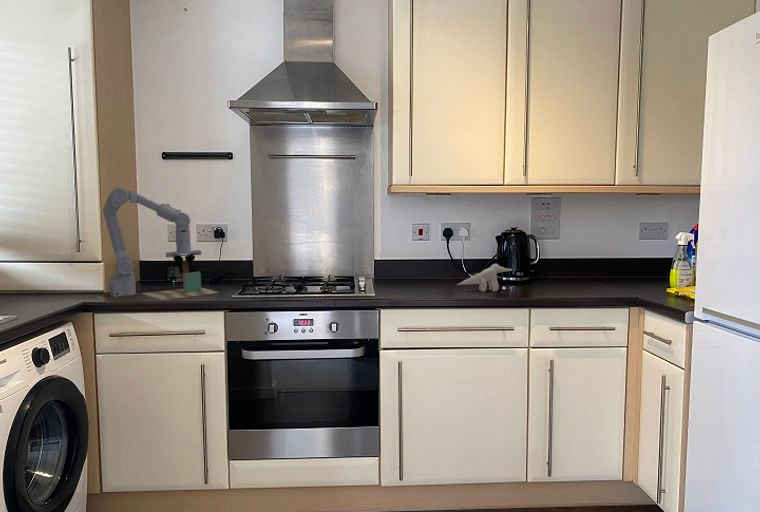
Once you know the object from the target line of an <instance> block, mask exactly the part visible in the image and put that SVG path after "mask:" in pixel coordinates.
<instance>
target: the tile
mask: <svg viewBox="0 0 760 512" xmlns="http://www.w3.org/2000/svg"><path fill="white" fill-rule="evenodd" d="M201 277H202V275H201V271H193V272H191V271H190V273H183V282H182V283H183V285H182V286H183V287H182V288H184V293H186V292H194V291H201V288H202V278H201Z"/></svg>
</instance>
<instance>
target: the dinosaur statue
mask: <svg viewBox="0 0 760 512" xmlns="http://www.w3.org/2000/svg"><path fill="white" fill-rule="evenodd" d="M511 271H513V268H506V267H504V266H501V265H499V264H498V263H493V264H492V265H490V267H488V268H486V269H483V270H482V271H481V272H479V273H478V272H476V273H475V274H474V273H473V275H472V276H470V277H469V278H468V277H467V278H466V279H463V281H461V282H460V283H457V284H456V286H462V285H463V286H464V285H465V286H466V285H479V287H478V290H479V291H480V292H483V293H485V292H486V291H487V287H489V288H488V290H489V291H491V292H493V293H494V292H498V291H499V282H498V273H504V272H506V273H507V272H511Z"/></svg>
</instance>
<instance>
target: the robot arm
mask: <svg viewBox="0 0 760 512" xmlns="http://www.w3.org/2000/svg"><path fill="white" fill-rule="evenodd" d="M127 202H128V203H129V204H130V203H131V204H133V203H134V204H139V205H141V206H144V207H146V208H148V209H150V210H152V211H155V212H156V215H157V216H158V217H160V218H162V219H164V220H166V221H167V222H170V223H174V224H175V245H176V246H175V247H176V249H175V250H176V251H170V252H167V251H166V252H165V257H166V258H172V259H173V260H174V261H175V264H176V266H177V268H178V272H179V274H180V275H181V274H182V273H183V261H188V266H189V273H190V272H191V269H192V267H193V266H192V265H193V262H194V261H195V259H196V256H201V255H202V250H198V249H197V250H192V249H191V245H192V244H191V230H190V223H191V219H190V216H189V215H188V214H187V213H184V212H182V210H181V209H177V208H174V207H173V206H171V204H169V203H160V204H159V203H156V202H154V201H153V200H151V199H148V198H147V197H145V196H143V195H141V194H139V193H137V192H134V191H132V190H126V189H125V188H122V187H116V188H115V189H113V190H112V191H111V192H110V193H109V194H108V197H107V199H106V201H105V204H104V207H103V208H102V213H103V217H104V221H105V223H106V227H107V230H108V233H109V237H110V241H111V245H112V249H113V251H114V255H115V260H116V264H115V269H116V273H115V274H114V275H113V276H110V277H109V278H108V289H109V290H108V291H109V296H111V297H114V298H116V297H122V296H132V295H133V296H134V295H136V294H137V293H136V292H137V289H136V274H135V272H133V271H134V262H133V260H131V259H130V258H129V254H128V251H127V247H126V243H125V240H124V237H123V233H122V229H121V226H120V221H119V219H118V215H117V212H118V211H119V210H120V208H121V207H122V206H123V205H124V204H126V203H127Z"/></svg>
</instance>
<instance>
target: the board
mask: <svg viewBox="0 0 760 512" xmlns="http://www.w3.org/2000/svg"><path fill="white" fill-rule="evenodd" d="M219 293H220V294H221V292H220V291H216V290H213V289H209V288H208V289H207V288H204V287H201V291H194V292H186V293H184V287H182V288H176V289H168V290H160V291H152V292H150V291H149V292H142V293H141V294H142V295H144V296H148V297H151V298H154V299H155V300H159V301H166V300H174V299H175V300H176V299H181V298H189V297H198V296H204V295H212V294H219Z"/></svg>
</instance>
